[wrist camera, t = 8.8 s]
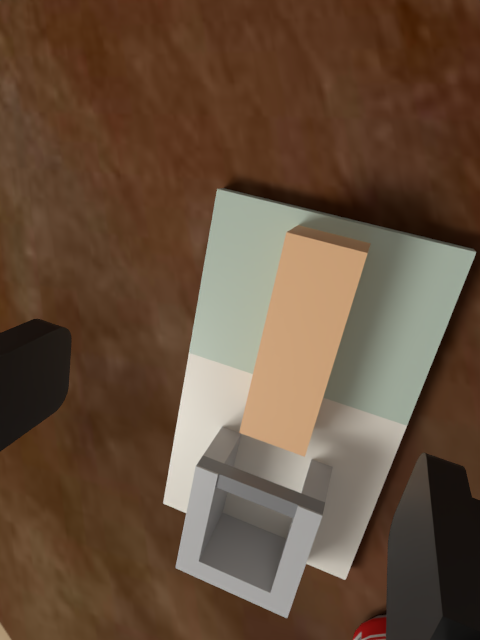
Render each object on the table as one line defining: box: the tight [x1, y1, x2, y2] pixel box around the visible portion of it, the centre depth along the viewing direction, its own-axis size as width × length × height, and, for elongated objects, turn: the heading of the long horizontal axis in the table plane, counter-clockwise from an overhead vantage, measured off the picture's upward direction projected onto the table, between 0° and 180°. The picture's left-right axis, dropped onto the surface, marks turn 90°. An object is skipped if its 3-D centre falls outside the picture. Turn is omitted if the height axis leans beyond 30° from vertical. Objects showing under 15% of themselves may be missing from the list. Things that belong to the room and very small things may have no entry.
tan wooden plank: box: [239, 225, 371, 457], centre depth 25 cm, size 4×12×3 cm, turn 169°
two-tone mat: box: [163, 188, 476, 618], centre depth 27 cm, size 14×23×6 cm, turn 169°
